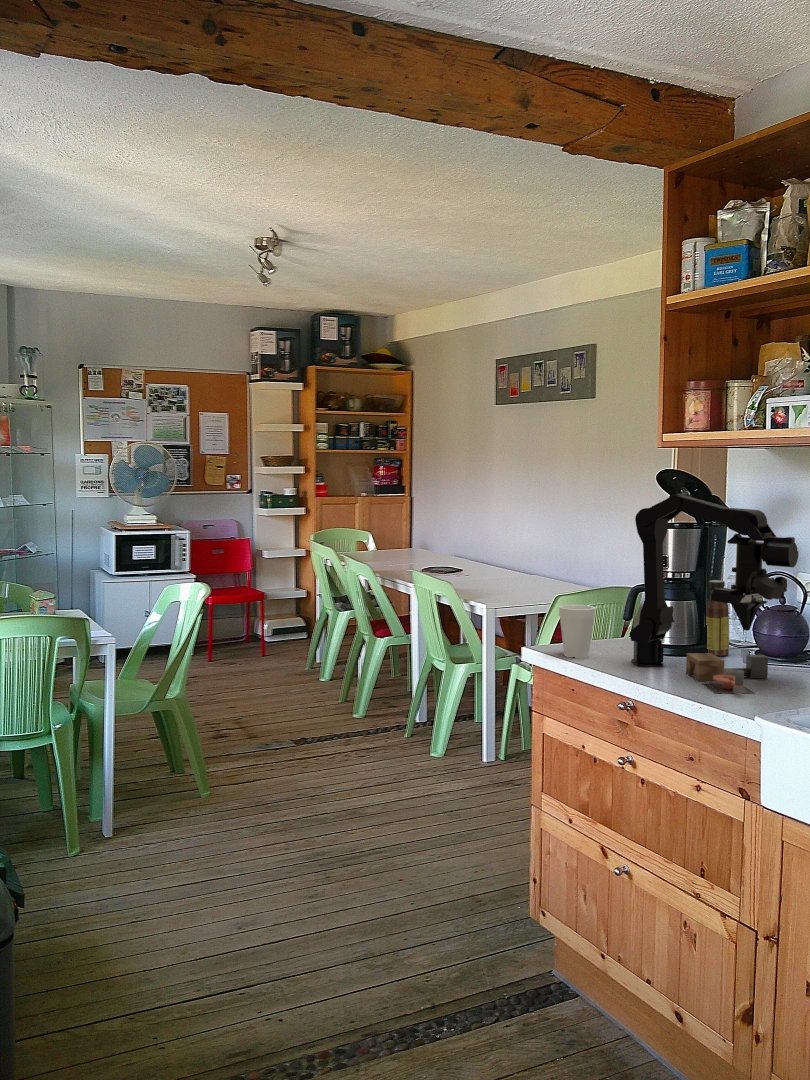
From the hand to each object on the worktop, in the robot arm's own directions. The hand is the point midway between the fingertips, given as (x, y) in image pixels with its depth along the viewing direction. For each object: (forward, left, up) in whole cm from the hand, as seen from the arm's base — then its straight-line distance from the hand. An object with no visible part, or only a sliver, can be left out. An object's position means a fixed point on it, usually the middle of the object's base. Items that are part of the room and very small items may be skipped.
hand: (746, 630), depth 218 cm
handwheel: (-7, -10, -12) cm, 17 cm away
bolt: (-2, +3, -12) cm, 12 cm away
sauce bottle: (+4, +30, -12) cm, 33 cm away
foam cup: (-34, +28, -12) cm, 46 cm away
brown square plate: (-7, -8, -12) cm, 16 cm away
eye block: (-8, +3, -12) cm, 15 cm away
